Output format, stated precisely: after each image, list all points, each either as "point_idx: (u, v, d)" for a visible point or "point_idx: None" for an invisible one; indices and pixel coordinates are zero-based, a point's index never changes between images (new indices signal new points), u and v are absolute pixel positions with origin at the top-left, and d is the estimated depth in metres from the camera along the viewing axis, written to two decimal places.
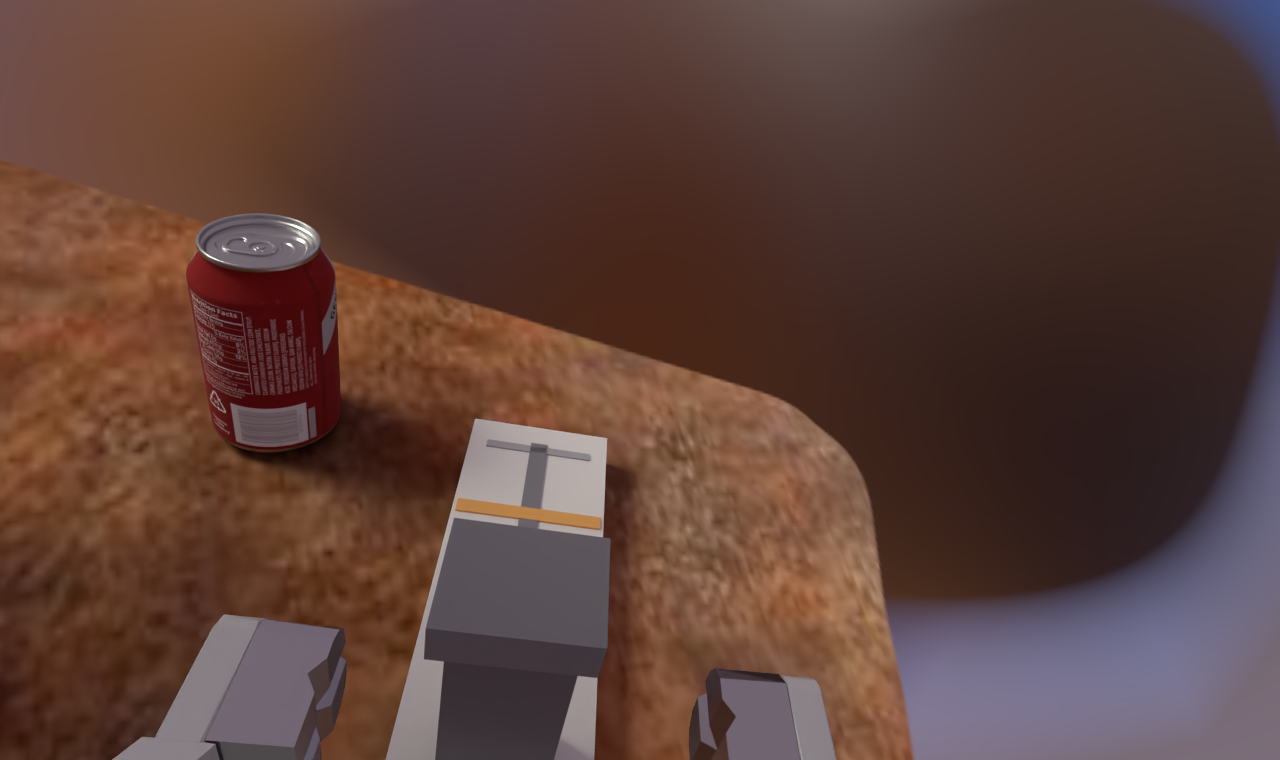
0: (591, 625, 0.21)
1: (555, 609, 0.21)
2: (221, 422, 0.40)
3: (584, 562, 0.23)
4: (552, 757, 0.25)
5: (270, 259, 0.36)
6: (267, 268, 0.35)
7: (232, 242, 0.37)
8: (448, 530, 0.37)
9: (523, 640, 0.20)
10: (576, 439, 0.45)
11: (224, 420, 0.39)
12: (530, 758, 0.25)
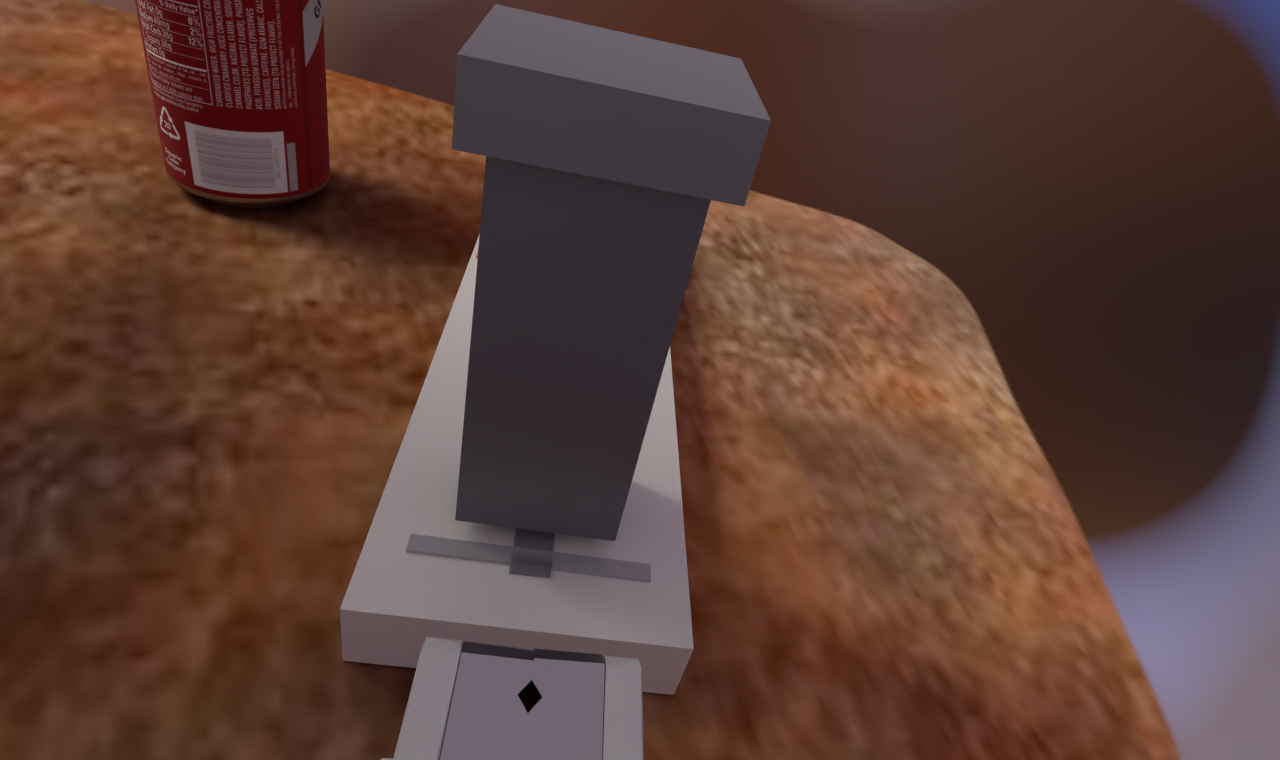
0: (738, 101, 0.12)
1: (673, 81, 0.13)
2: (174, 157, 0.31)
3: (708, 64, 0.14)
4: (641, 436, 0.17)
5: None
6: None
7: None
8: (468, 274, 0.28)
9: (627, 93, 0.12)
10: None
11: (178, 152, 0.31)
12: (607, 437, 0.17)
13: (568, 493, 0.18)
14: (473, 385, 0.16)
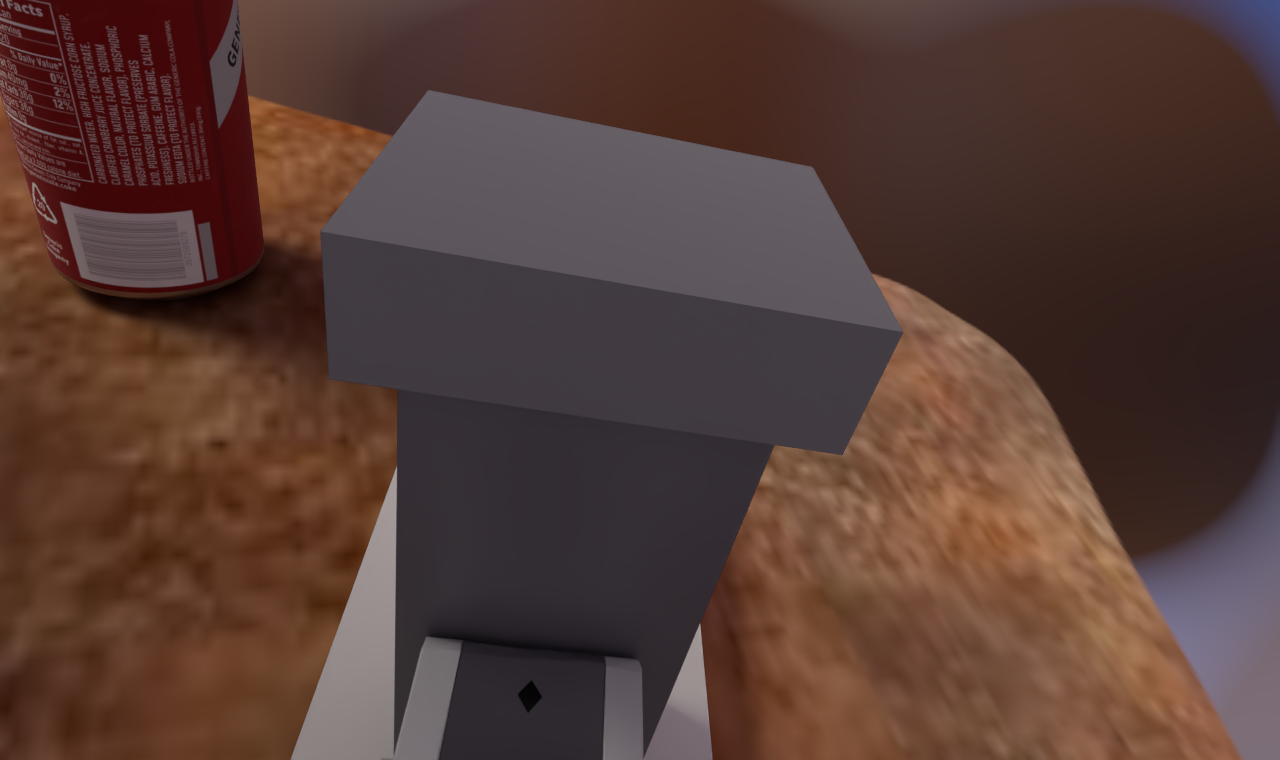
0: (836, 284, 0.07)
1: (721, 246, 0.07)
2: (54, 243, 0.24)
3: (769, 188, 0.09)
4: (659, 711, 0.11)
5: None
6: None
7: None
8: None
9: (643, 293, 0.06)
10: None
11: (57, 239, 0.24)
12: None
13: None
14: (405, 659, 0.10)
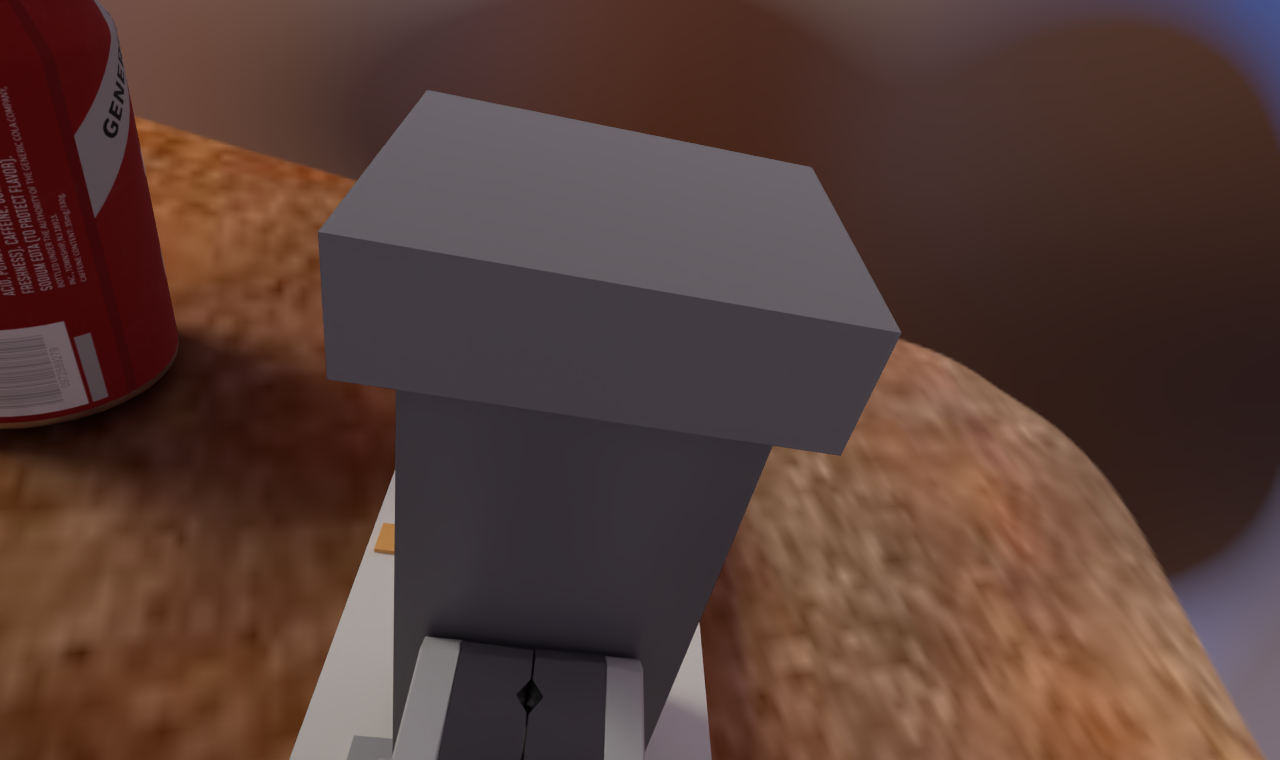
0: (834, 285, 0.07)
1: (719, 246, 0.07)
2: None
3: (767, 188, 0.09)
4: (657, 711, 0.11)
5: None
6: None
7: None
8: (353, 599, 0.16)
9: (642, 293, 0.06)
10: None
11: None
12: None
13: None
14: (403, 658, 0.10)
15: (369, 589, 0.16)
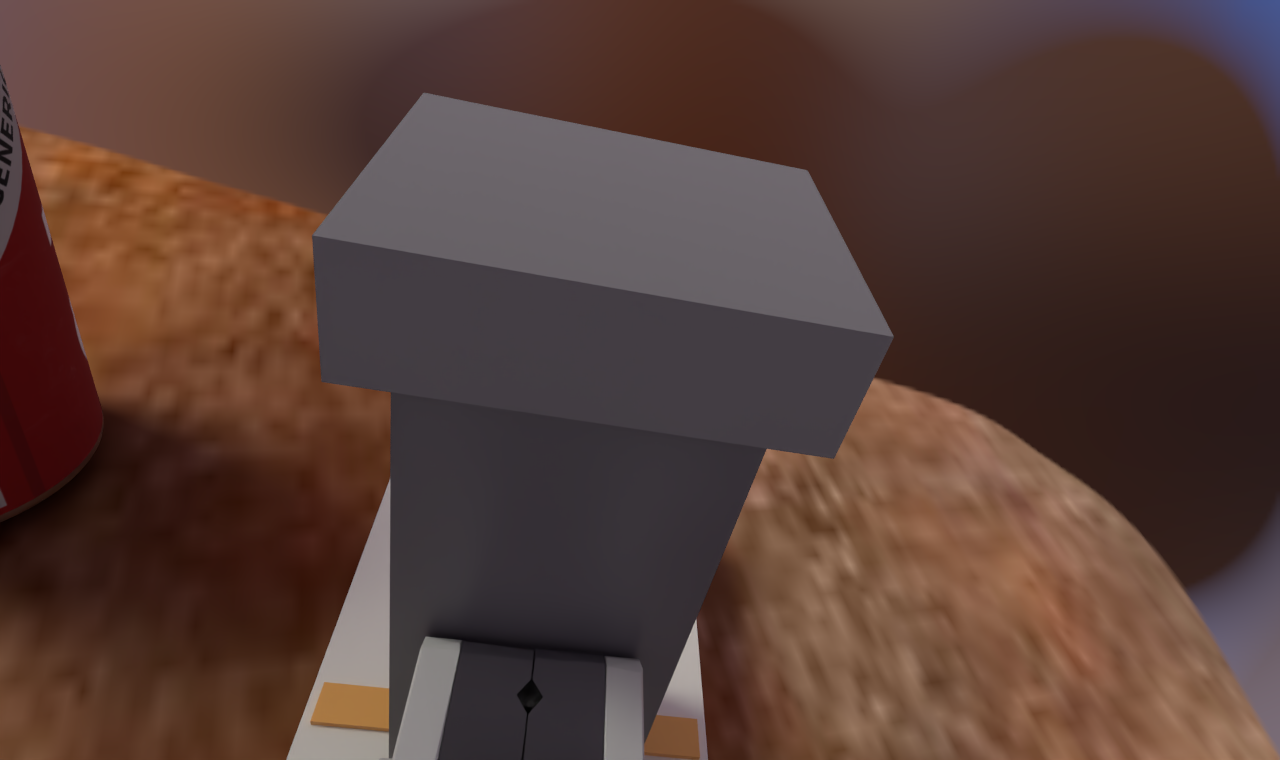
0: (827, 290, 0.07)
1: (714, 250, 0.07)
2: None
3: (762, 192, 0.09)
4: (653, 712, 0.11)
5: None
6: None
7: None
8: None
9: (635, 296, 0.06)
10: None
11: None
12: None
13: None
14: (399, 659, 0.10)
15: None
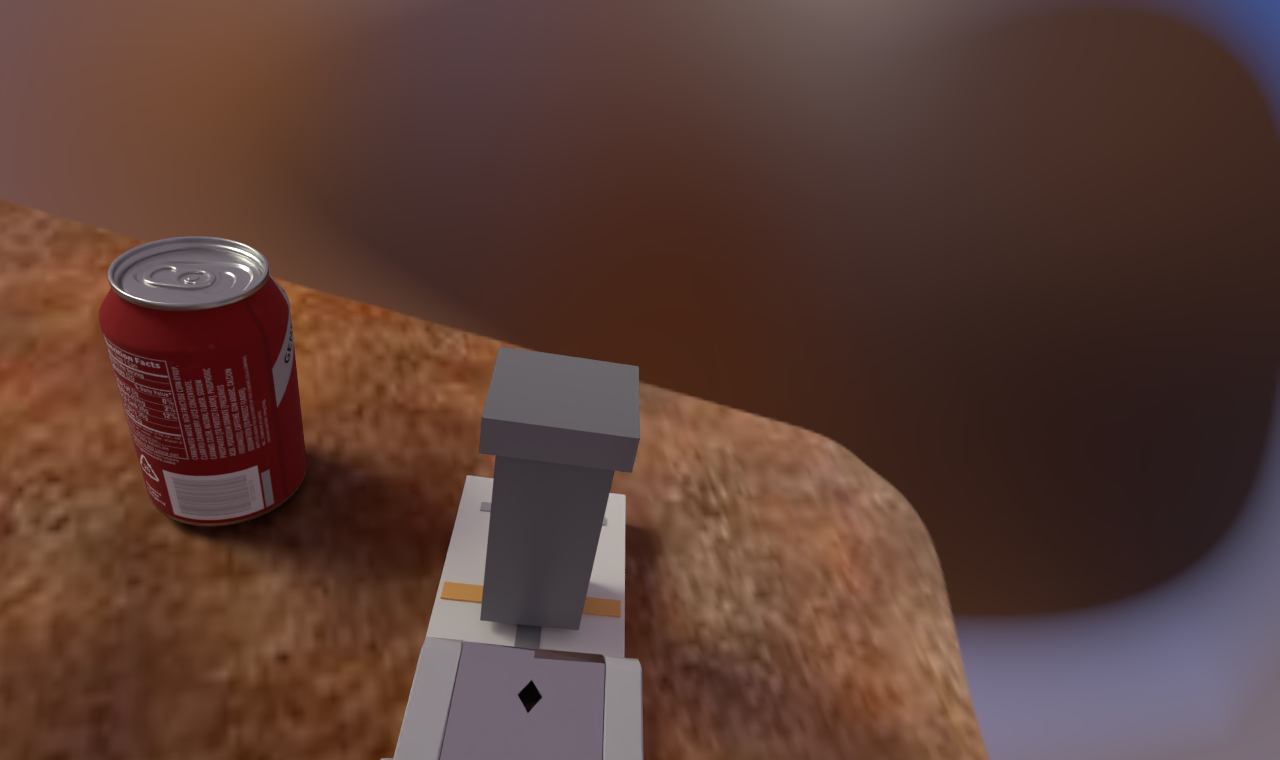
0: (625, 423, 0.24)
1: (592, 410, 0.24)
2: (154, 491, 0.32)
3: (616, 381, 0.26)
4: (589, 574, 0.28)
5: (203, 292, 0.29)
6: (196, 305, 0.27)
7: (158, 272, 0.29)
8: (431, 626, 0.30)
9: (566, 430, 0.23)
10: None
11: (158, 490, 0.32)
12: (569, 575, 0.28)
13: (548, 604, 0.29)
14: (490, 550, 0.27)
15: (439, 620, 0.30)
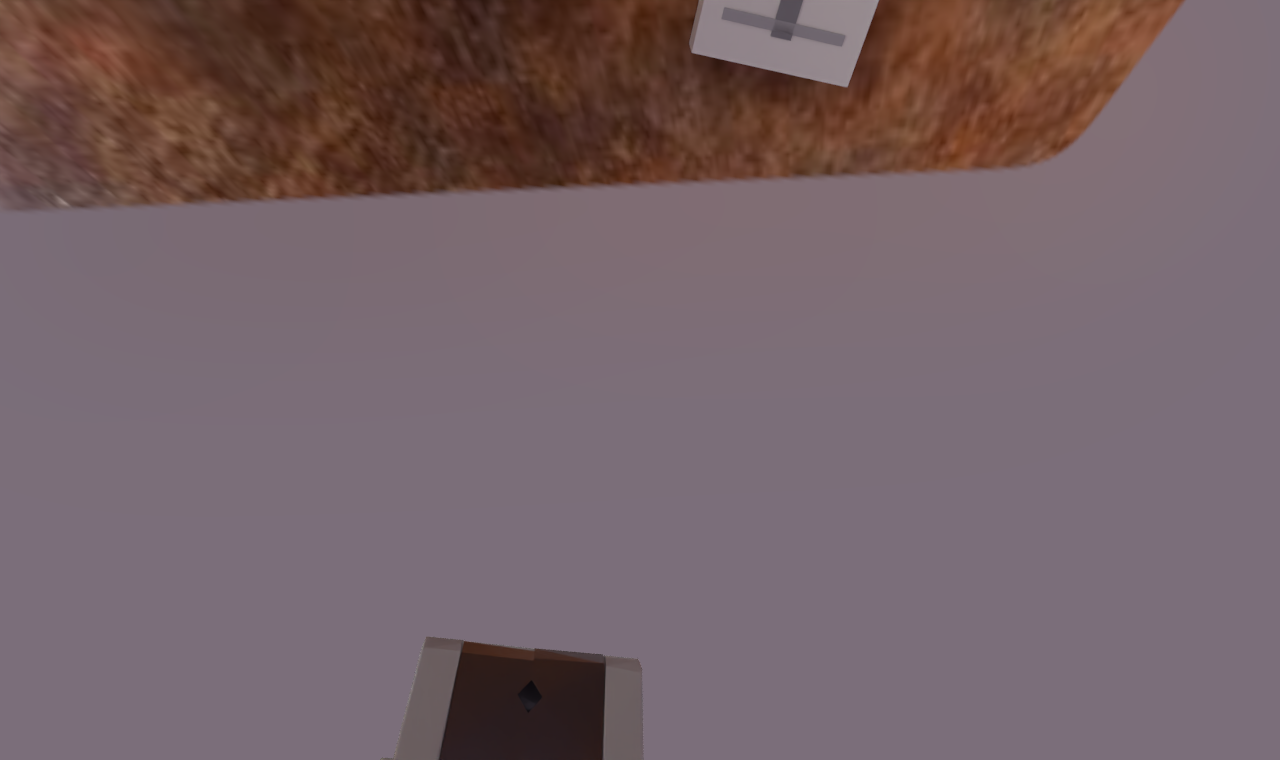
0: None
1: None
2: None
3: None
4: None
5: None
6: None
7: None
8: None
9: None
10: None
11: None
12: None
13: None
14: None
15: None
